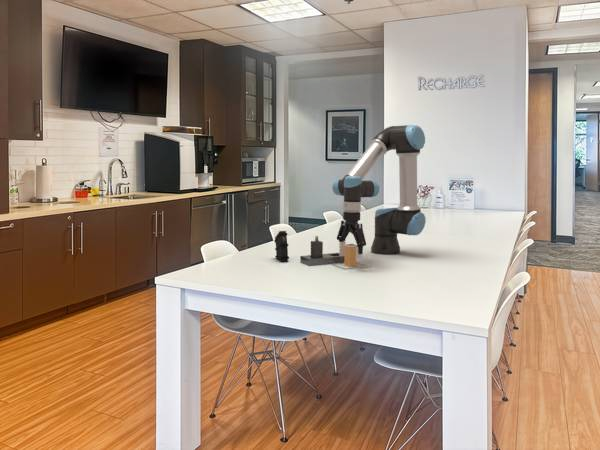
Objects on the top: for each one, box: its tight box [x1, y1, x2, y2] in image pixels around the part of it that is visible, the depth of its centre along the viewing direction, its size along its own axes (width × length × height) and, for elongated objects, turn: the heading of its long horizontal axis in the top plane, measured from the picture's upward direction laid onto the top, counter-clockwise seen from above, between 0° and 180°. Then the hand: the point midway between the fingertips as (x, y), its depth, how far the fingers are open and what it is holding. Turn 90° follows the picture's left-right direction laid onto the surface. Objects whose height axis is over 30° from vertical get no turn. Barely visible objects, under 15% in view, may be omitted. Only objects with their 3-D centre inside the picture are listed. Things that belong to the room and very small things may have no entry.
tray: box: [329, 261, 372, 271], centre depth 231 cm, size 14×12×1 cm
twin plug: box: [310, 235, 324, 258], centre depth 236 cm, size 4×4×12 cm
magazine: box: [273, 230, 290, 263], centre depth 243 cm, size 4×13×15 cm, turn 16°
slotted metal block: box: [299, 252, 344, 267], centre depth 239 cm, size 22×9×4 cm, turn 117°
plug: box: [343, 243, 358, 268], centre depth 231 cm, size 4×4×10 cm
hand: (350, 258), depth 230 cm, fingers open, 13 cm apart
